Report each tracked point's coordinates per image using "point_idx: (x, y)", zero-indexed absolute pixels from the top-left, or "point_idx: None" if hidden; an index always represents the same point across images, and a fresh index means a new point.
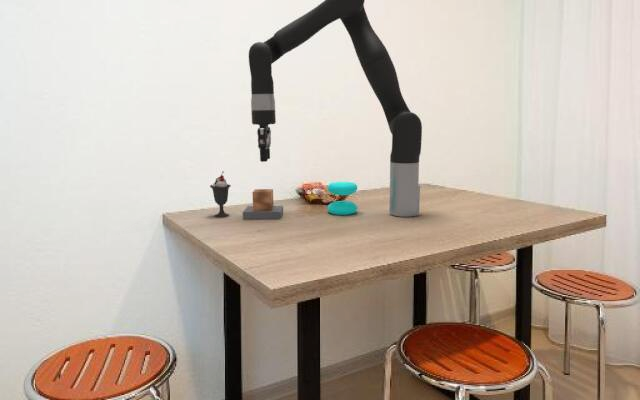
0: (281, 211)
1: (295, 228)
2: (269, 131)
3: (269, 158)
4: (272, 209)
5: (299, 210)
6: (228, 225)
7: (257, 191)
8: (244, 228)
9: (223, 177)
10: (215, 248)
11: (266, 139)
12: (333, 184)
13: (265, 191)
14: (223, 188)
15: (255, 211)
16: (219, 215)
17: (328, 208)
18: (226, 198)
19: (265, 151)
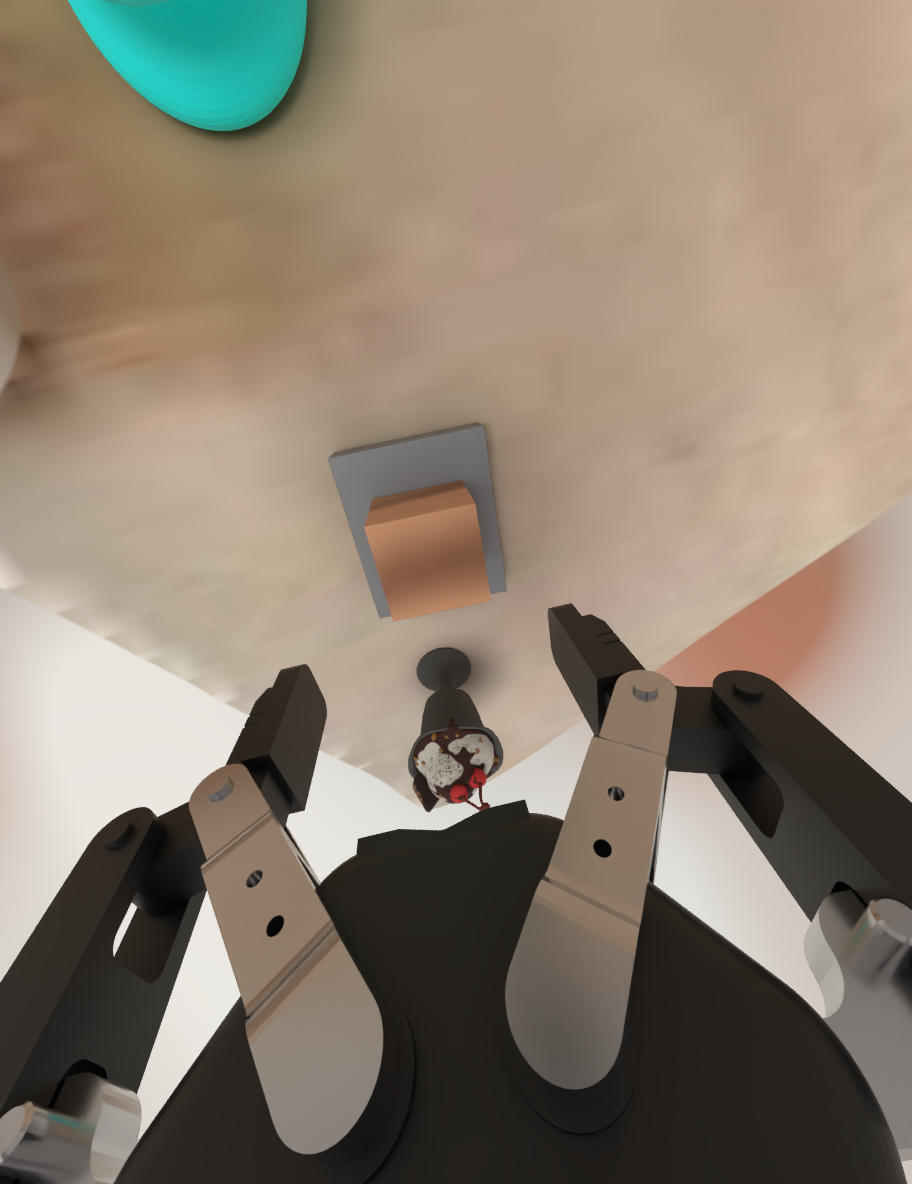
0: (432, 435)
1: (656, 291)
2: (621, 1025)
3: (305, 664)
4: (435, 484)
5: (243, 377)
6: (592, 590)
7: (465, 583)
8: (639, 521)
9: (459, 784)
10: (875, 513)
11: (659, 811)
12: None
13: (462, 541)
14: (485, 731)
15: (488, 546)
16: (463, 672)
17: (260, 107)
18: (456, 696)
19: (637, 666)
